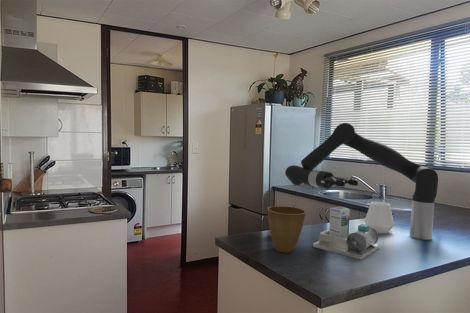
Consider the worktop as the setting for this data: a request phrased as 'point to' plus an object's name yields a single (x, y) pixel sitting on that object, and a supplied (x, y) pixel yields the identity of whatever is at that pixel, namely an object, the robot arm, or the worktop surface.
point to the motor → (350, 242)
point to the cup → (380, 217)
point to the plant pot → (285, 226)
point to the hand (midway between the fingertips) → (351, 183)
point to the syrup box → (339, 222)
